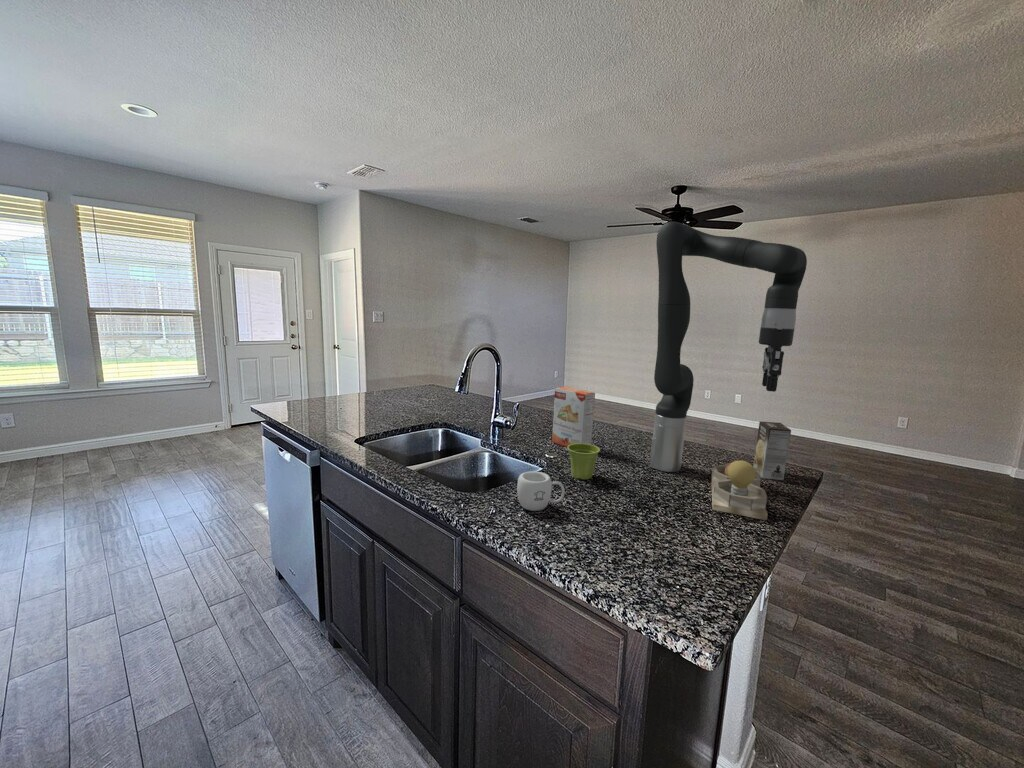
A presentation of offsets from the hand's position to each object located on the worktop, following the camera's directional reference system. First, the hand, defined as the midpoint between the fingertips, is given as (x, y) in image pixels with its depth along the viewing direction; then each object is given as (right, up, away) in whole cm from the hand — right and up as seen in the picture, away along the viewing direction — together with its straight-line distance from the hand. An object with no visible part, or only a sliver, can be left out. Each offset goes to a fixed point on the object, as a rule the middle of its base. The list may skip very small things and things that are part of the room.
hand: (768, 388), depth 115 cm
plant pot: (-47, -26, +15) cm, 56 cm away
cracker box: (-46, -22, +43) cm, 67 cm away
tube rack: (-6, -29, +5) cm, 31 cm away
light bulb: (-8, -29, -1) cm, 30 cm away
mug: (-61, -29, -6) cm, 68 cm away
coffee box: (+13, -28, +23) cm, 38 cm away
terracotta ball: (-3, -24, +10) cm, 26 cm away
